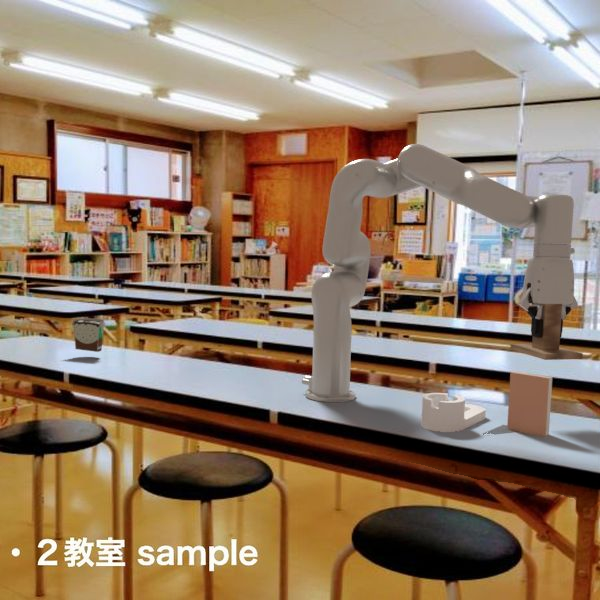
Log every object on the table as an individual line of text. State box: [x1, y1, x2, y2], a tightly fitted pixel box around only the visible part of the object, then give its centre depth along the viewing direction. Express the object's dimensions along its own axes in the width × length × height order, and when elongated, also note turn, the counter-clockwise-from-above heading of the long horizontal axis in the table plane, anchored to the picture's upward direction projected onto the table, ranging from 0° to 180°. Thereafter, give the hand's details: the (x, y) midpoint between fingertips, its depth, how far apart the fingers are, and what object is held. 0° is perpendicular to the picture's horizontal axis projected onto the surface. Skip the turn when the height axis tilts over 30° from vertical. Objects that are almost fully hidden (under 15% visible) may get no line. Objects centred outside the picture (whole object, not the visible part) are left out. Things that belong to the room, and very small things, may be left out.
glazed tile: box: [507, 370, 553, 437], centre depth 139 cm, size 8×2×12 cm, turn 49°
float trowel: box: [509, 304, 584, 361], centre depth 147 cm, size 9×13×11 cm
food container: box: [71, 317, 107, 353], centre depth 226 cm, size 12×6×10 cm, turn 65°
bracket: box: [420, 392, 487, 433], centre depth 147 cm, size 20×9×7 cm, turn 143°
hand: (546, 336), depth 147 cm, fingers closed on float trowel, 4 cm apart
